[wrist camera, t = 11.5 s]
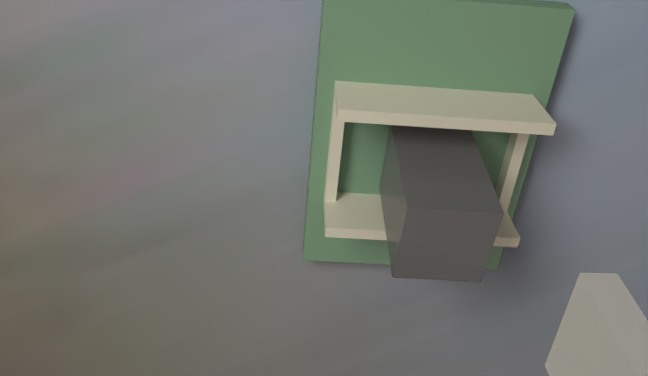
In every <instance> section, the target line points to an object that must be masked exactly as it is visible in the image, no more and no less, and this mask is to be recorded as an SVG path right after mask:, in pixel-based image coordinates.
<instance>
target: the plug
mask: <svg viewBox="0 0 648 376" xmlns="http://www.w3.org/2000/svg"><path fill="white" fill-rule="evenodd" d="M379 189H380V196H381V203H382V210H383V216H384V223H385V230H386V237H387V244H388V251H389V258H390V265H391V271H392V277H394V278H414V279H434V280H454V281H474V282H481V279H482V276H483V273H484V270H485V267H486V265H487V262H488V259H489V256H490V253H491V250H492V247H493V244H494V241H495V238H496V235H497V232H498V230H499V227H500V224H501V221H502V218H503V215H504V211H503V209H502V206H501V204H500V201H499V199H498V196H497V194H496V191H495V189H494V187H493V184H492V182H491V179H490V177H489V174H488V172H487V169H486V167H485V164H484V162H483V159H482V157H481V154H480V152H479V149H478V147H477V144H476V142H475V139H474V137H473V134H472V132H471V130H461V129H445V128H430V127H415V126H400V125H390V128H389V134H388V140H387V146H386V151H385V157H384V163H383V169H382V174H381V180H380V186H379Z"/></svg>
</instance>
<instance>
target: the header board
mask: <svg viewBox="0 0 648 376" xmlns="http://www.w3.org/2000/svg"><path fill="white" fill-rule="evenodd" d="M574 14H575V9H574V8H572V7H571V6H570V5H568V4H567V3H558V2H546V1H533V0H323V5H322V17H321V30H320V42H319V55H318V67H317V80H316V92H315V105H314V117H313V130H312V142H311V155H310V167H309V180H308V192H307V205H306V217H305V230H304V242H303V260H307V261H327V262H346V263H366V264H385V265H390V258H389V251H388V244H387V237H386V230H385V223H384V216H383V210H382V203H381V196H380V189H379V186H380V180H381V174H382V169H383V163H384V157H385V151H386V146H387V140H388V134H389V128H390V125H400V126H415V127H430V128H445V129H461V130H471V132H472V134H473V137H474V139H475V142H476V144H477V147H478V149H479V152H480V154H481V157H482V159H483V162H484V164H485V167H486V169H487V172H488V174H489V177H490V179H491V182H492V184H493V187H494V189H495V191H496V194H497V196H498V199H499V201H500V204H501V206H502V209H503V211H504V215H503V218H502V221H501V224H500V227H499V230H498V232H497V235H496V238H495V241H494V244H493V247H492V250H491V253H490V256H489V259H488V262H487V265H486V267H485V270H497V269H498V265H499V262H500V259H501V255H502V252H503V249H504V247H518V245H519V242H520V236H519V234H518V232H517V230H516V228H515V226H514V224H513V222H512V219H513V216H514V212H515V209H516V206H517V202H518V199H519V196H520V192H521V189H522V186H523V183H524V179H525V176H526V173H527V169H528V166H529V163H530V159H531V156H532V153H533V149H534V146H535V143H536V139H537V136H538V135H552V136H553V134H554V131H555V128H556V125H557V124H556V122H555V121H554V120H553V119H552V118H551V116H550V115H549V114H548V113H547V111H546V106H547V103H548V100H549V96H550V93H551V90H552V86H553V83H554V80H555V77H556V73H557V70H558V67H559V63H560V60H561V57H562V53H563V50H564V47H565V43H566V40H567V37H568V34H569V30H570V27H571V24H572V20H573V17H574Z"/></svg>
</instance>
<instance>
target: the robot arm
mask: <svg viewBox="0 0 648 376" xmlns="http://www.w3.org/2000/svg"><path fill="white" fill-rule="evenodd" d="M545 367H546V370H547V372H548V374H549V376H648V320H647V319H646V317H645V316H644V314H643V313H642V311H641V309H640V308H639V306H638V305H637V303H636V302H635V300H634V299H633V297H632V295H631V294H630V292H629V291H628V289H627V288H626V286H625V285H624V283H623V282H622V280H621V278H620V277H619V275H618V274H611V273H580V274H579V277H578V279H577V282H576V284H575V287H574V290H573V292H572V295H571V298H570V300H569V303H568V305H567V308H566V311H565V313H564V316H563V319H562V321H561V324H560V326H559V329H558V332H557V334H556V337H555V340H554V342H553V345H552V347H551V350H550V353H549V355H548V358H547V361H546V363H545Z"/></svg>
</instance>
